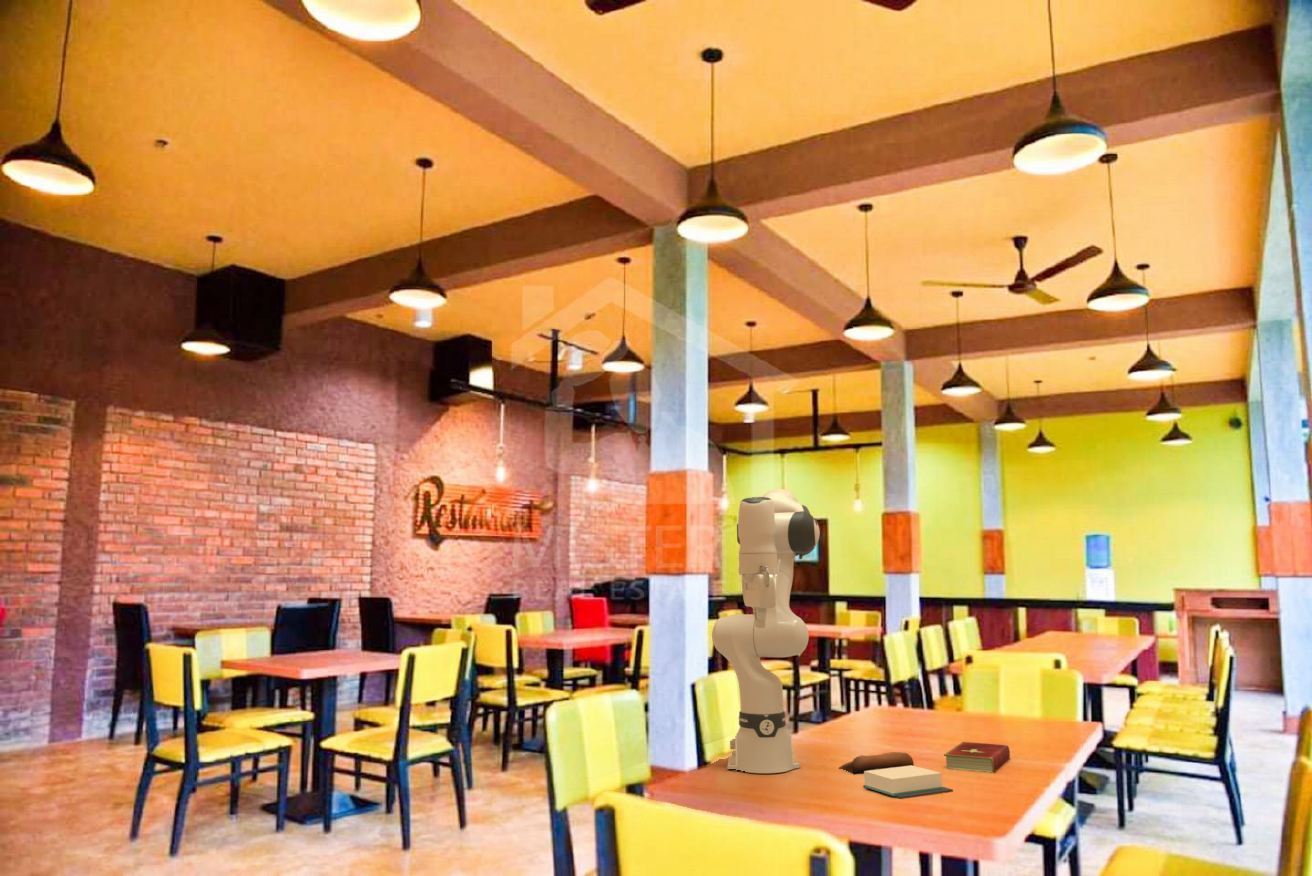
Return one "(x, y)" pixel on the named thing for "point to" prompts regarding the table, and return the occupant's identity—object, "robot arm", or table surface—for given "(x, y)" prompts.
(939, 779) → the cream rectangular block
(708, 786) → the table surface
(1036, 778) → the table surface
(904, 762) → the sweet potato
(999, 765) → the hardcover book
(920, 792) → the mat
